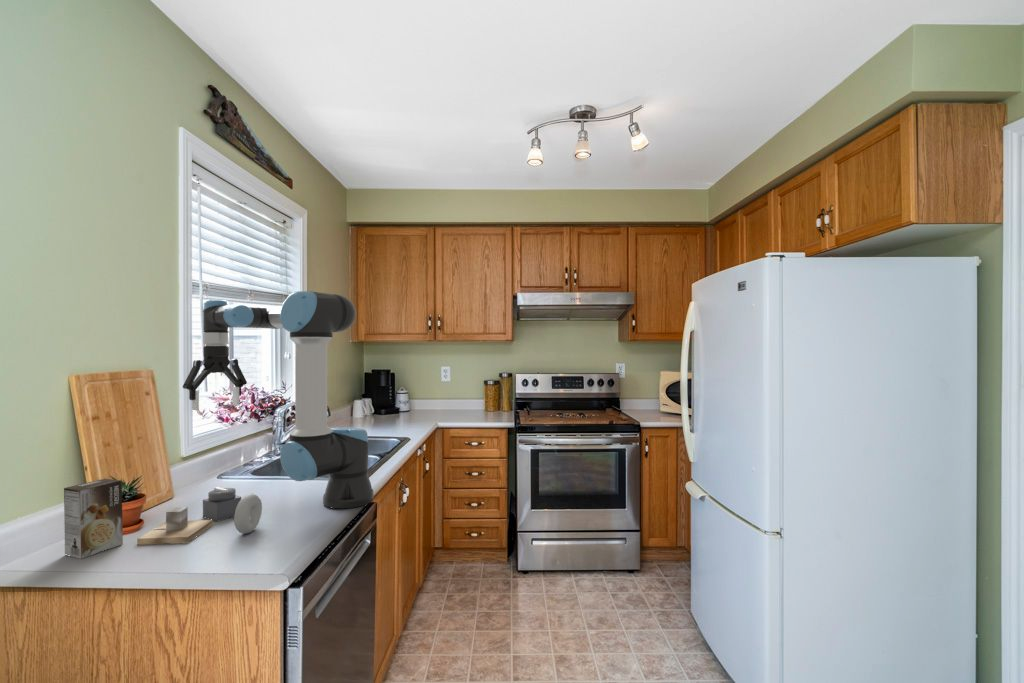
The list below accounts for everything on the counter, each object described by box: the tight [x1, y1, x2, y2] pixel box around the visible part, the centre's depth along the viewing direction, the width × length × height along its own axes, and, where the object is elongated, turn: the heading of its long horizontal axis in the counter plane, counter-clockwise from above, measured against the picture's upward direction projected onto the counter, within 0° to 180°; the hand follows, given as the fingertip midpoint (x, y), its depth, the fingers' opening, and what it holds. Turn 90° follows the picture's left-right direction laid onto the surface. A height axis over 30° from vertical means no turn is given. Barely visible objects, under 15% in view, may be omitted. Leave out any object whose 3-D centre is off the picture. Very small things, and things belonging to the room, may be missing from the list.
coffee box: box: [63, 478, 124, 559], centre depth 119 cm, size 9×6×16 cm
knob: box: [202, 486, 242, 522], centre depth 143 cm, size 7×7×8 cm
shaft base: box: [136, 506, 214, 546], centre depth 129 cm, size 12×12×6 cm
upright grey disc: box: [233, 493, 263, 535], centre depth 130 cm, size 10×4×10 cm, turn 0°
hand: (216, 407), depth 168 cm, fingers open, 13 cm apart
